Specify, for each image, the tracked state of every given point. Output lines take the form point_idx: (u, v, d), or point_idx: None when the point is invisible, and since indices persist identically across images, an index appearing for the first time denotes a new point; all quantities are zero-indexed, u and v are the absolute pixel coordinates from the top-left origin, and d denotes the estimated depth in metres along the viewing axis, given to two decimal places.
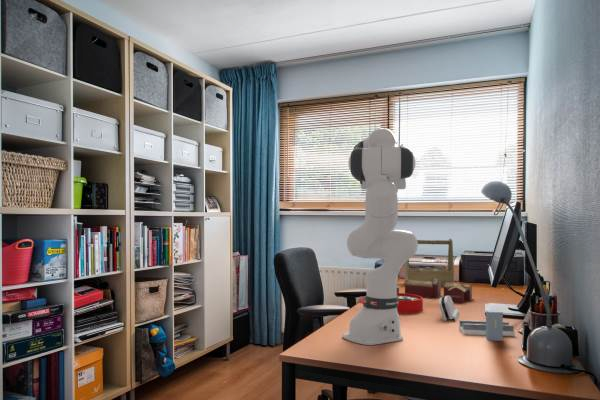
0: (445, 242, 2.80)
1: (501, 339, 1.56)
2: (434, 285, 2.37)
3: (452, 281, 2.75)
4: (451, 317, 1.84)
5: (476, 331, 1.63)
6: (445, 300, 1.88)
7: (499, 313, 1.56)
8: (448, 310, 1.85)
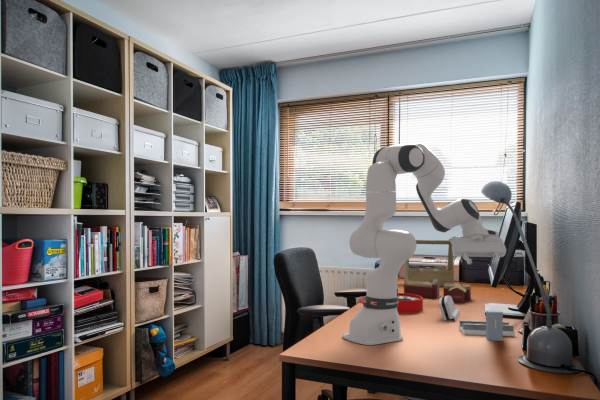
0: (445, 242, 2.80)
1: (501, 339, 1.56)
2: (434, 285, 2.35)
3: (452, 281, 2.75)
4: (451, 317, 1.85)
5: (476, 331, 1.63)
6: (445, 300, 1.88)
7: (499, 313, 1.56)
8: (448, 310, 1.86)
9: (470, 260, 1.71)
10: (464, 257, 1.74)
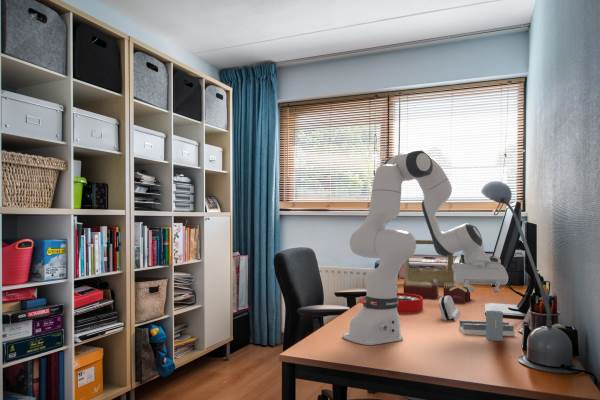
0: None
1: (501, 339, 1.56)
2: (434, 286, 2.35)
3: (452, 281, 2.75)
4: (451, 317, 1.85)
5: (476, 331, 1.63)
6: (445, 300, 1.89)
7: (499, 313, 1.56)
8: (448, 310, 1.86)
9: (472, 288, 1.69)
10: (466, 284, 1.72)
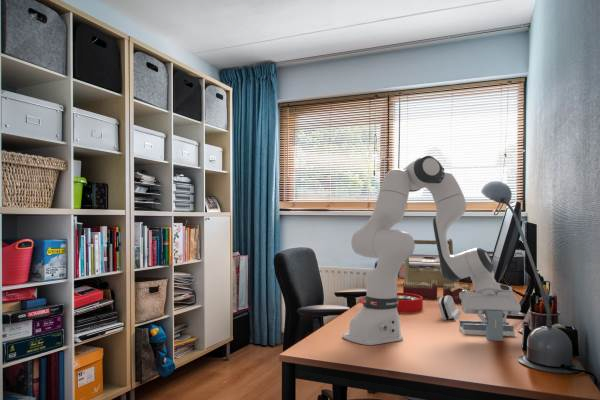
0: None
1: (501, 339, 1.56)
2: (434, 286, 2.33)
3: None
4: (450, 317, 1.85)
5: (476, 331, 1.63)
6: (445, 300, 1.89)
7: (499, 313, 1.56)
8: (447, 310, 1.86)
9: (486, 319, 1.57)
10: (479, 315, 1.59)
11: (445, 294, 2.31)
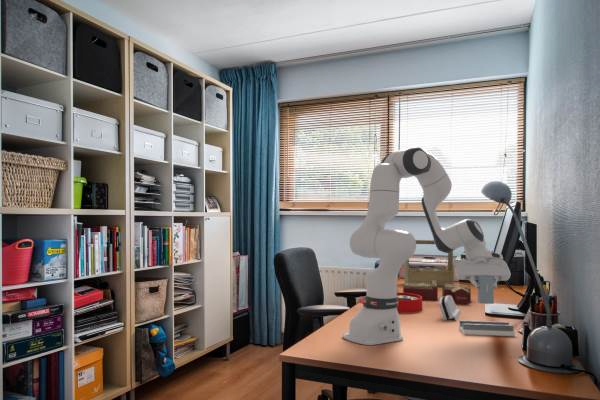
0: None
1: (492, 302, 1.66)
2: (434, 287, 2.31)
3: (452, 281, 2.75)
4: (451, 317, 1.85)
5: (476, 331, 1.63)
6: (445, 300, 1.89)
7: (490, 278, 1.66)
8: (448, 310, 1.86)
9: (478, 284, 1.67)
10: (471, 281, 1.69)
11: (445, 295, 2.29)
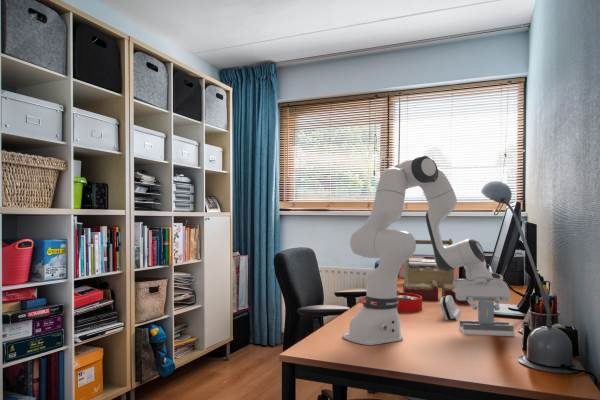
0: (445, 242, 2.80)
1: None
2: (435, 287, 2.29)
3: (452, 281, 2.75)
4: (452, 317, 1.85)
5: (476, 331, 1.63)
6: (446, 300, 1.89)
7: (491, 303, 1.66)
8: (449, 310, 1.86)
9: (475, 305, 1.67)
10: (469, 302, 1.69)
11: (446, 295, 2.28)
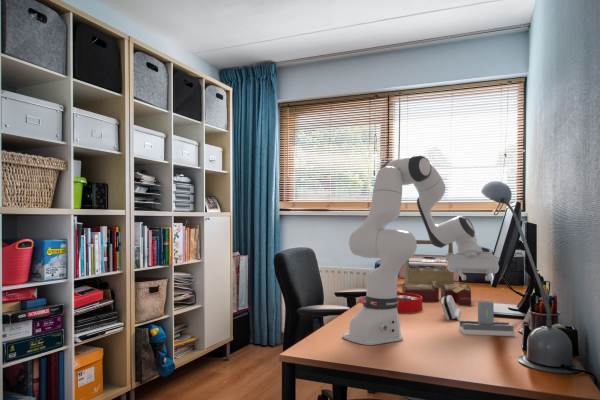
0: None
1: None
2: (435, 288, 2.27)
3: (452, 281, 2.75)
4: (454, 316, 1.85)
5: (476, 331, 1.63)
6: (447, 300, 1.89)
7: (490, 303, 1.66)
8: (451, 310, 1.86)
9: (464, 276, 1.80)
10: (459, 273, 1.82)
11: (446, 295, 2.27)
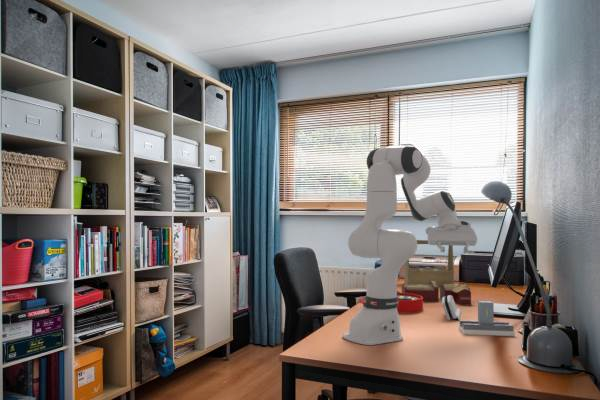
0: None
1: None
2: (435, 288, 2.27)
3: (452, 281, 2.75)
4: (455, 317, 1.85)
5: (476, 331, 1.63)
6: (448, 300, 1.89)
7: (490, 303, 1.66)
8: (452, 310, 1.86)
9: (443, 248, 1.84)
10: (438, 245, 1.86)
11: (446, 295, 2.27)
